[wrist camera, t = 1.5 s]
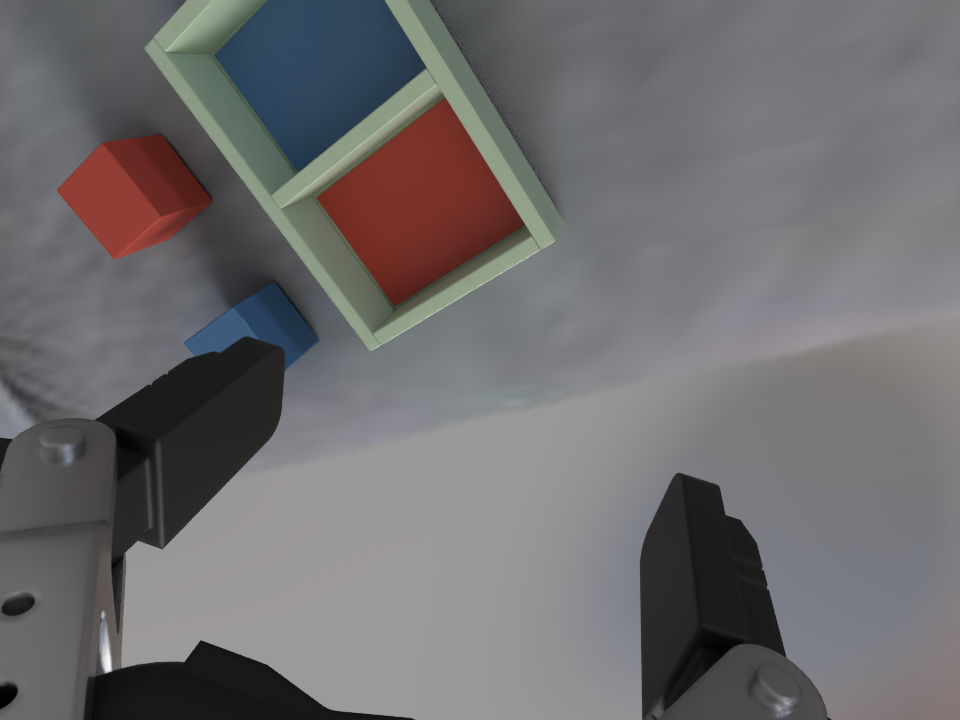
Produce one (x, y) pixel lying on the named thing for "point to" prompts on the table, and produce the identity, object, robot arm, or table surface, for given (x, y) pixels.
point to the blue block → (258, 326)
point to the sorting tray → (362, 147)
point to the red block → (133, 194)
